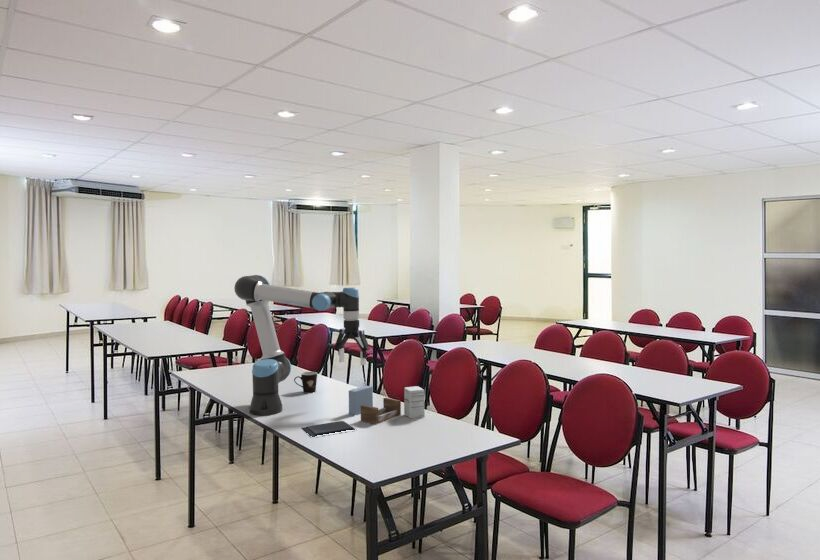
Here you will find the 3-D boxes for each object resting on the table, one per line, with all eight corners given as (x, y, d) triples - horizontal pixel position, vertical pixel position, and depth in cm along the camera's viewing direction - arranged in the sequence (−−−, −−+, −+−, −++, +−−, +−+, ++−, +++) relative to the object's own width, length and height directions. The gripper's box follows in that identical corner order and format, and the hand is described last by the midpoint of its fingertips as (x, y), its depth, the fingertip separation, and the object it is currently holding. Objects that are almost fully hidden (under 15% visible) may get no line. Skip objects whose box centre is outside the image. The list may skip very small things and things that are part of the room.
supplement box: (403, 414, 255) (403, 387, 254) (418, 412, 258) (418, 385, 257) (409, 419, 248) (409, 390, 248) (425, 417, 251) (424, 389, 250)
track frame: (376, 424, 240) (376, 408, 240) (360, 420, 246) (360, 405, 246) (400, 415, 254) (400, 400, 254) (385, 412, 259) (385, 397, 259)
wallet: (311, 435, 223) (300, 424, 236) (311, 439, 223) (300, 429, 236) (357, 427, 232) (345, 418, 245) (357, 432, 232) (345, 422, 245)
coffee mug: (319, 390, 303) (319, 371, 303) (315, 393, 295) (314, 375, 294) (298, 389, 304) (298, 371, 304) (293, 393, 296) (293, 374, 295)
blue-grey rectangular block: (355, 415, 254) (355, 391, 254) (348, 414, 256) (348, 390, 256) (372, 409, 263) (372, 386, 263) (366, 408, 266) (366, 385, 265)
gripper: (376, 320, 264) (377, 364, 265) (337, 317, 279) (338, 359, 280) (366, 321, 258) (367, 367, 259) (327, 319, 273) (328, 362, 274)
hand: (352, 363), depth 269 cm, fingers open, 13 cm apart
